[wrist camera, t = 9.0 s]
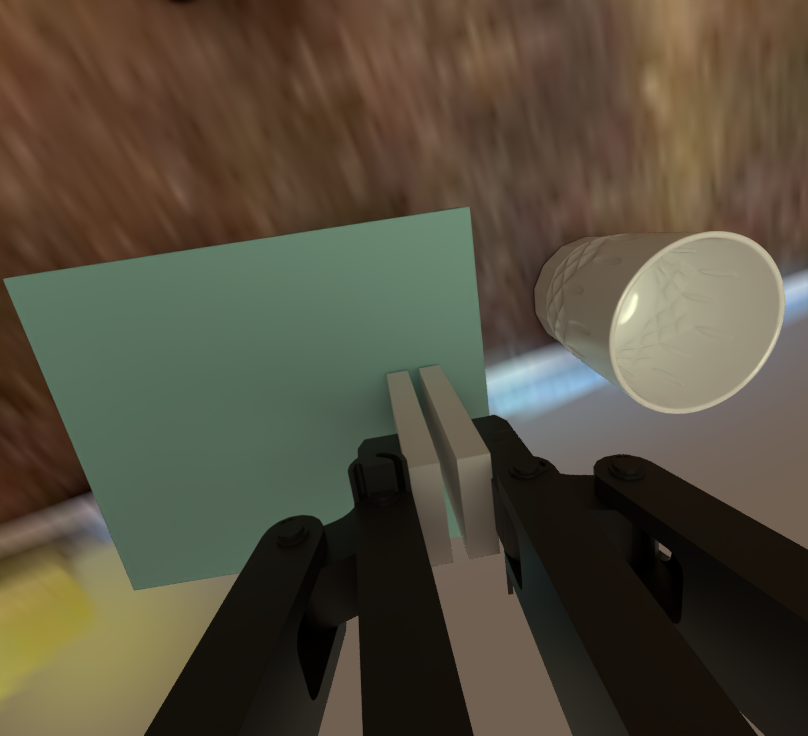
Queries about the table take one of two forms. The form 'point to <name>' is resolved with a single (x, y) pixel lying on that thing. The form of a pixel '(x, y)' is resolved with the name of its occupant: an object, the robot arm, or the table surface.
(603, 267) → the white cup
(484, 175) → the table surface
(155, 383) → the lid
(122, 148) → the table surface
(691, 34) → the table surface
